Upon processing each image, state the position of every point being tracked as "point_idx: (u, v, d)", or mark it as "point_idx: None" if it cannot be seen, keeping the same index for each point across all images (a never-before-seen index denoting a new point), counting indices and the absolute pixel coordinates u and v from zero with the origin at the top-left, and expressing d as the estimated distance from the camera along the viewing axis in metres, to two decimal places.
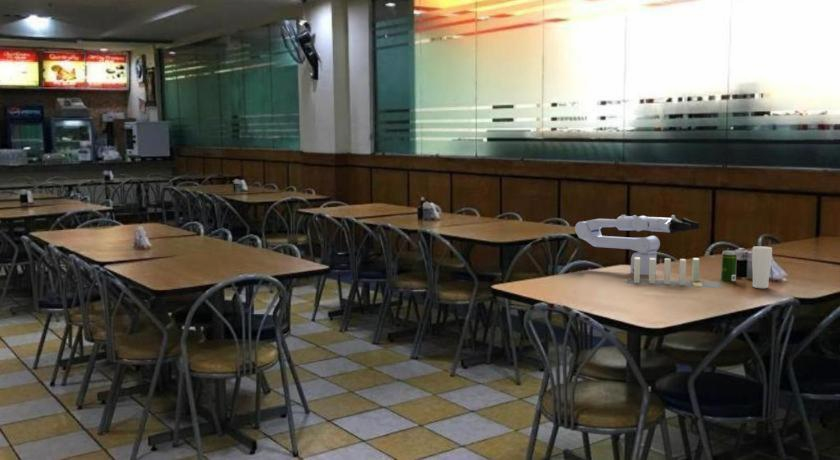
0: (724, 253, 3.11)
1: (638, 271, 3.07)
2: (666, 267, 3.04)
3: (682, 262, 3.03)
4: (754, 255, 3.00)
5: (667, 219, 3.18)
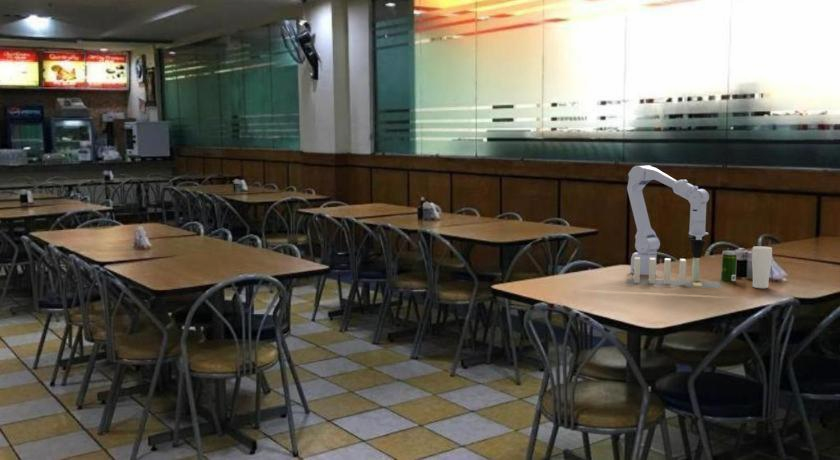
0: (724, 253, 3.11)
1: (638, 271, 3.07)
2: (666, 267, 3.04)
3: (682, 262, 3.03)
4: (754, 255, 3.00)
5: (704, 229, 3.09)
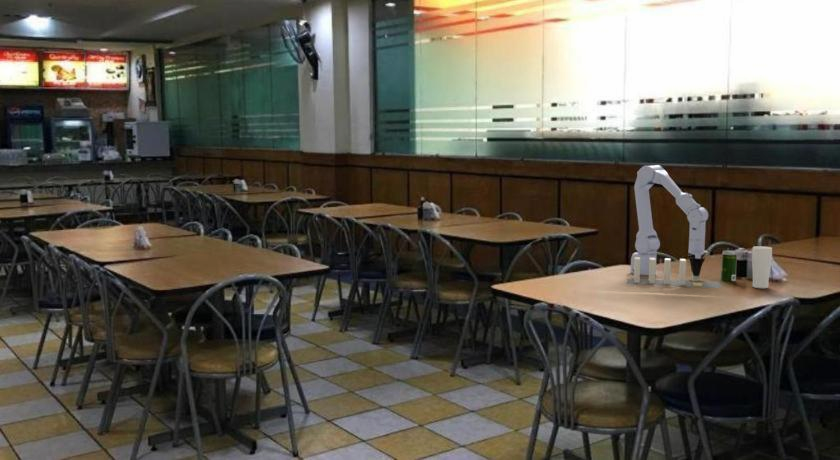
0: (724, 253, 3.11)
1: (638, 271, 3.07)
2: (666, 267, 3.04)
3: (682, 262, 3.03)
4: (754, 255, 3.00)
5: (703, 248, 3.10)
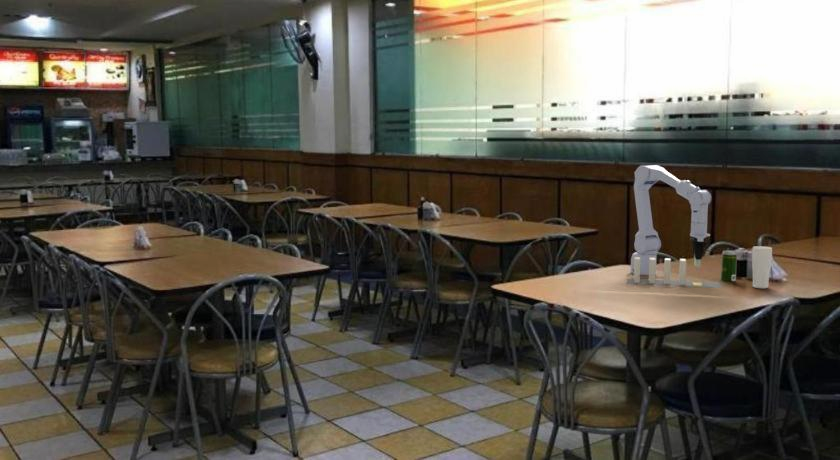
0: (724, 253, 3.11)
1: (638, 271, 3.07)
2: (666, 267, 3.04)
3: (682, 262, 3.03)
4: (754, 255, 3.00)
5: (705, 231, 3.04)
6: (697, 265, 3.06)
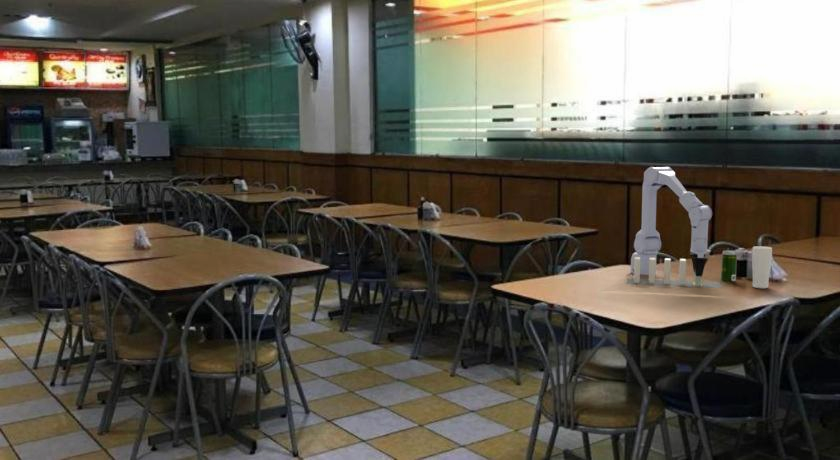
0: (724, 253, 3.11)
1: (638, 271, 3.07)
2: (666, 267, 3.04)
3: (682, 262, 3.03)
4: (754, 255, 3.00)
5: (706, 247, 3.01)
6: (697, 283, 3.03)
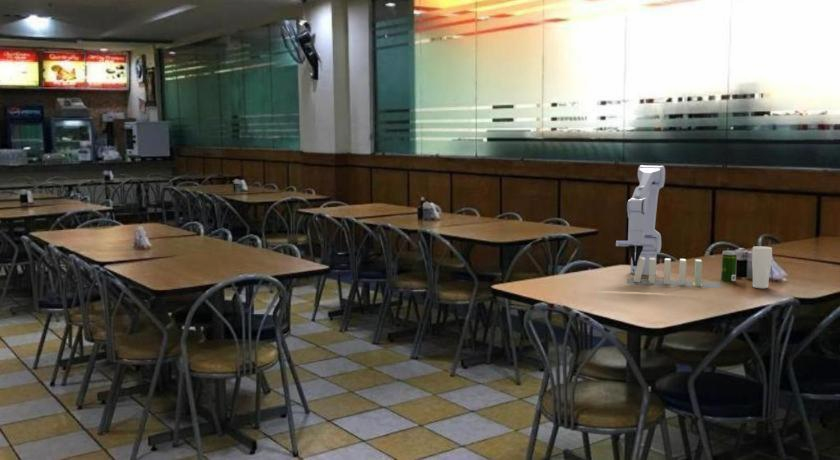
0: (724, 253, 3.11)
1: (640, 271, 3.07)
2: (666, 267, 3.04)
3: (682, 262, 3.03)
4: (754, 255, 3.00)
5: (631, 239, 3.06)
6: (697, 283, 3.03)
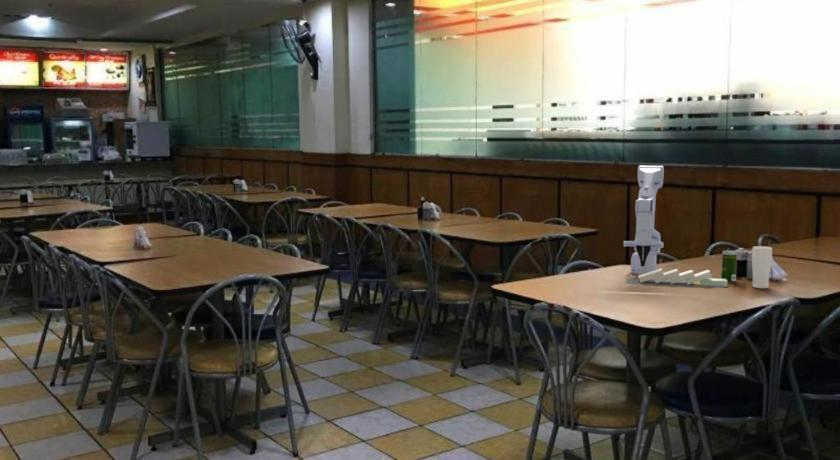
0: (724, 253, 3.11)
1: (651, 277, 3.06)
2: (686, 275, 3.03)
3: (708, 273, 3.01)
4: (754, 255, 3.00)
5: (639, 239, 3.06)
6: (703, 282, 3.02)
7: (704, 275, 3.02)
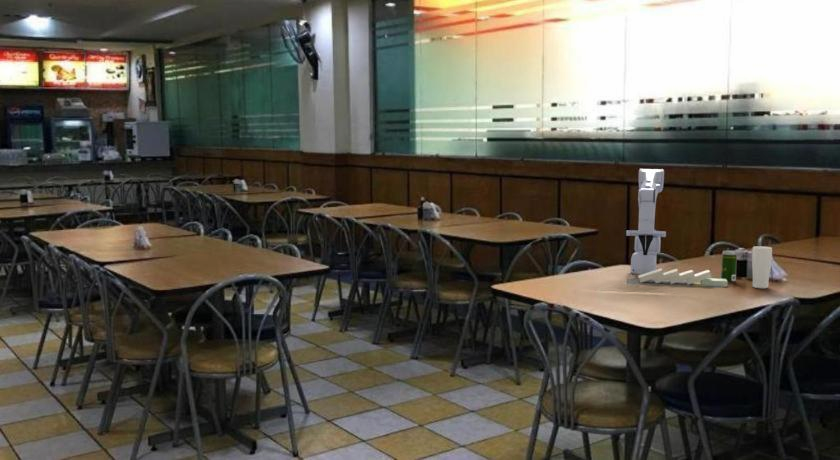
0: (724, 253, 3.11)
1: (651, 277, 3.06)
2: (686, 275, 3.03)
3: (708, 273, 3.01)
4: (754, 255, 3.00)
5: (641, 228, 3.10)
6: (703, 282, 3.02)
7: (704, 275, 3.02)
